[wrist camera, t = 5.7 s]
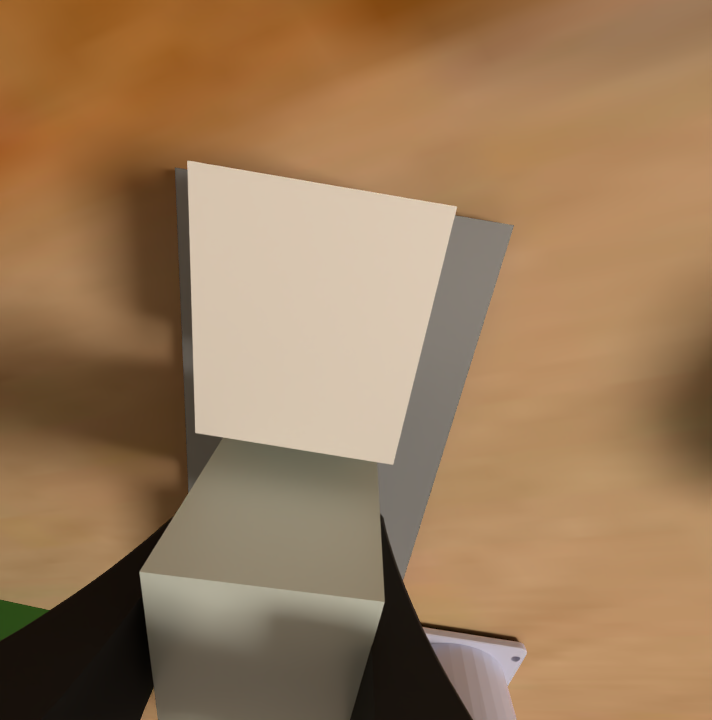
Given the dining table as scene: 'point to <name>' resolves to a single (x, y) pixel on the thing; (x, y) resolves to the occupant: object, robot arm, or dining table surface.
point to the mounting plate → (330, 324)
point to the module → (266, 587)
